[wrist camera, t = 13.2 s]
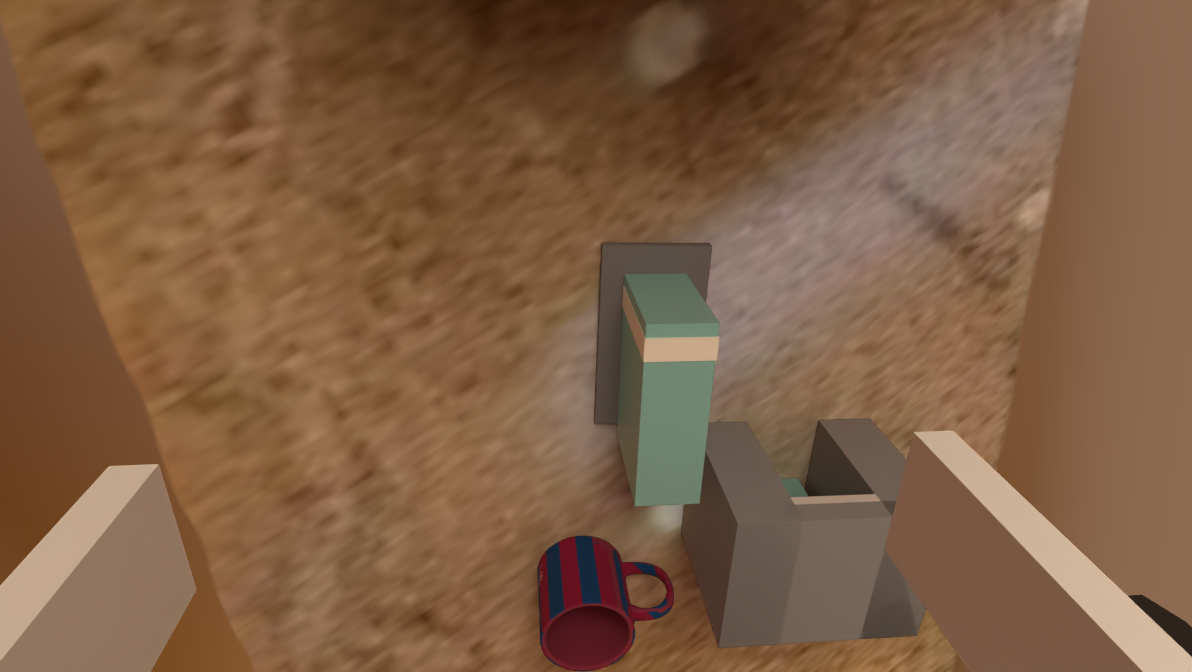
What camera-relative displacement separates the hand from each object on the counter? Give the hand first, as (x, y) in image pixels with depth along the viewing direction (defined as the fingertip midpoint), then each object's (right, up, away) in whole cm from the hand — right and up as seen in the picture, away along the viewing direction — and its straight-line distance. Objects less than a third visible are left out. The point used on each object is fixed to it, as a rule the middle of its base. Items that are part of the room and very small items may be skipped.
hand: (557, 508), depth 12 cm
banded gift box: (+4, +2, +34) cm, 34 cm away
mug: (+1, -15, +42) cm, 45 cm away
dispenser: (+14, -8, +40) cm, 43 cm away
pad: (+4, +3, +34) cm, 34 cm away
